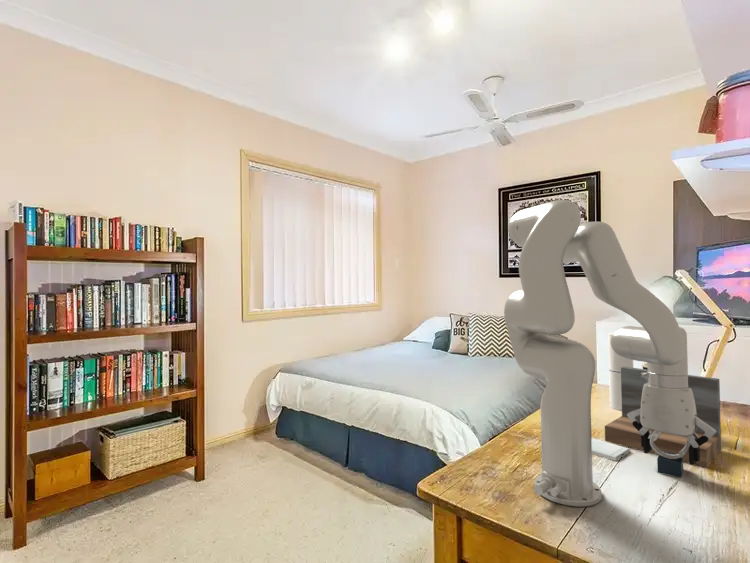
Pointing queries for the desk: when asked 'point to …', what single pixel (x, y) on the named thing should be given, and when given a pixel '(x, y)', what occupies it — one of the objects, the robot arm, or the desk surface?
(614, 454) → the hard drive
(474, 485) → the desk surface
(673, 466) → the watch
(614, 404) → the cylindrical container
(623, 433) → the display stand
